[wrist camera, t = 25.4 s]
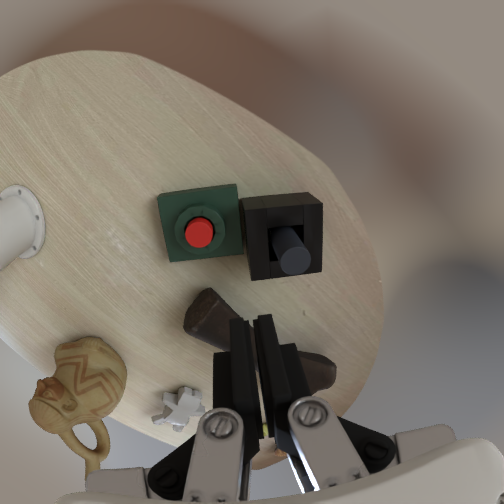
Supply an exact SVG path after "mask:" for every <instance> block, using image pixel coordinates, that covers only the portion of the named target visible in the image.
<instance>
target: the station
mask: <svg viewBox="0 0 504 504" xmlns="http://www.w3.org/2000/svg"><path fill="white" fill-rule="evenodd" d="M157 201H158V206H159V212H160V217H161V222H162V227H163V232H164V237H165V242H166V247H167V251H168V256H169V260H170V262H177V261H186V260H195V259H203V258H212V257H221V256H230V255H238V254H244V252H243V242H242V233H241V223H240V213H239V204H238V194H237V186H236V184H228V185H220V186H211V187H204V188H196V189H189V190H182V191H175V192H169V193H162V194H160V195H159V196H158V197H157ZM195 218H204V219H207V220H208V221H209V222H210V223H211V224H212V227H213V236H212V240H211V242H210V243H209V244H208V245H207V246H205V247H201V248H197V247H194V246H192V245H190V244H189V243H188V242H187V240H186V237H185V232H186V229H187V226H188V224H189V223H190V221H192V220H193V219H195Z"/></svg>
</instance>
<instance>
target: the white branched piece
mask: <svg viewBox="0 0 504 504" xmlns="http://www.w3.org/2000/svg"><path fill="white" fill-rule="evenodd" d="M201 399H202V392H199V391H196V390H194V391H192V389H191V388H188V387H184V388H182V387H181V388H179V390H178V394H172V393H166V392H164V393H163V396H162V402H164V403H165V404H166V406H165V408H164V411H163V414H160V415H156V416H153V417H151V418H152V421H153V424H155V425H161V424H163V423H165V422H166V421H167V422H169V423H171V424H173V430H175V431H176V432H181V431H182V429H183V428H184V426H186V425H187V424H188V422H189V418H190V416H203V415H204V414H205V406H203V405H201V404H200V402H201Z"/></svg>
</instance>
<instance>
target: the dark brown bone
mask: <svg viewBox="0 0 504 504" xmlns="http://www.w3.org/2000/svg"><path fill="white" fill-rule="evenodd" d="M233 318H241V317H240V316H239V315H238V314H237V313H236V312H235V311H234V310H233V309H232V308H231V307H230V306H229V305H228V304H227V303H226V302H225V301H224V300H223V299H222V298H221V297H220V296H219V295H218V294H217V292H215V291H214V290H213V289H212V288H211V287H210V288H207V289H205V290H203V291H202V292H201V293H200V294H199V295H198V296H197V298H196V299H195V300H194V301H193V303H192V304H191V305H190V307H189V308H188V310H187V312H186V314H185V319H184V325H183V328H184V330H185V332H186V333H187V334H189V335H191V336H193V337H195V338H197V339H200V340H202V341H204V342H206V343H209V344H211V345H213V346H215V347H217V348H219V349H222V350H224V351H226V352H228V351H230V328H229V319H233ZM243 321H244V320H243ZM249 328H250V335H251V343H252V350H253V357H254V364H255V370H256V371H257V372H259V371H258V363H257V354H256V345H255V335H254V328H253V327H251V326H250V325H249ZM279 345H280V344H279ZM298 354H299V357H300V360H301V363H302V366H303V370H304V373H305V376H306V379H307V382H308V386H309V389H310V392H311V395H313V394H314V393H316V392H317V391H320V390H323V389H328V388H330V387H331V386H332V385H333V384H334V382H335V379H336V368H337V367H336V365H335V363H333V362H332V361H331V360H329V359H328V358H327V357H325V356H322V355H319V354H314V353H307V352H301V351H298Z"/></svg>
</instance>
